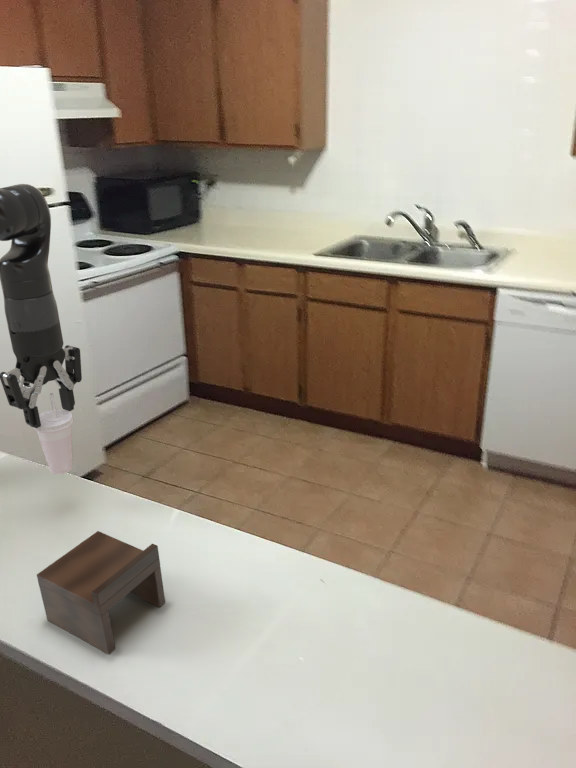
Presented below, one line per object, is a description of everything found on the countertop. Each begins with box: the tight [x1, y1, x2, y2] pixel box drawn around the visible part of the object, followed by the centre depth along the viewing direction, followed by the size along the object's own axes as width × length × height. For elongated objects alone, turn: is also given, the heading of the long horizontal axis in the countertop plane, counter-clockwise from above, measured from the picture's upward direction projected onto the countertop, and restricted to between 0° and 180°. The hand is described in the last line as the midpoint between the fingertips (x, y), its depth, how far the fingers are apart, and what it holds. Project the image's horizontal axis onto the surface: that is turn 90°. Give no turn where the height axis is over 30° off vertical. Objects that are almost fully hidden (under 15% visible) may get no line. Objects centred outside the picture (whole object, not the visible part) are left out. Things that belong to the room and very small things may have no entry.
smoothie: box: [32, 393, 74, 475], centre depth 111 cm, size 6×6×14 cm
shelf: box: [36, 530, 166, 655], centre depth 92 cm, size 12×11×10 cm
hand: (51, 417), depth 109 cm, fingers closed on smoothie, 6 cm apart
